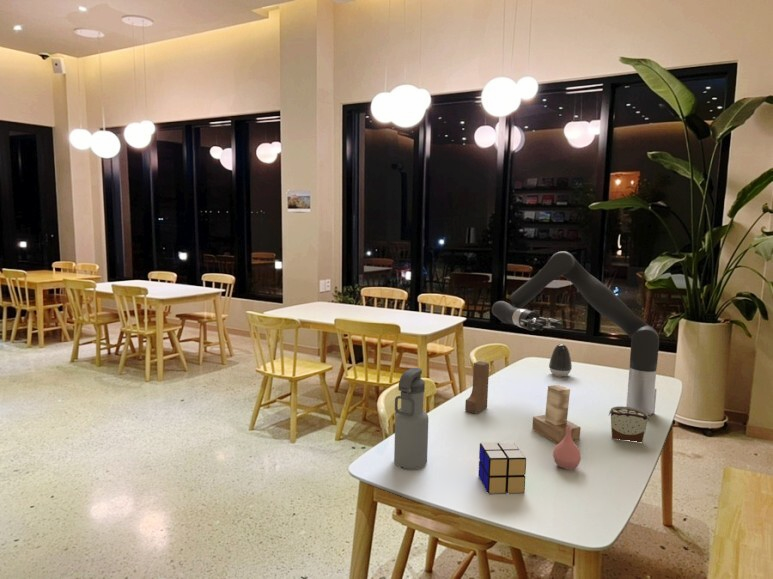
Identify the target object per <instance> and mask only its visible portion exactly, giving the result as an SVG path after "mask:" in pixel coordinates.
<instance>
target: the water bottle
mask: <svg viewBox="0 0 773 579" xmlns="http://www.w3.org/2000/svg"><path fill="white" fill-rule="evenodd" d="M422 374H423V369H422V368H419V367H410V368H409V369H407V370H405V371H404V372H403V373H402V374H401V375H400V377H399V382H398V387H397V388H398V391H400V395H397V396H395V397H394V411H395V413H396V414H395V417H394V450H393V451H394V453H393V454H394V455H393V460H394V461H393V462H394V463H395V464H396V465H397V467H399V466H400V467H399V468H401V467H403V468H402V469H405V468H407V469H406V470H419V469H422V468H424V467H425V466H426V464H427V463H428V449H429V448H428V447H429V446H428V444H429V415H428V413H427V412H426V411H425V410H424V401H425V400H424V399H425V398H424V397H425V396H424V394H425V392H426V391H425V390H426V387H425V386H426V381H425V380H424V379H422V378H421V376H422ZM399 400H400V409H399V408H398V403H399V402H398V401H399ZM418 468H419V469H418Z"/></svg>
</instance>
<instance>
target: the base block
mask: <svg viewBox="0 0 773 579" xmlns="http://www.w3.org/2000/svg"><path fill="white" fill-rule="evenodd" d="M567 427H569V428H571V437H572V440H573V442H574V443H575V442H577V441H580V439H581V438H580V437H581V426H579V425H577V424H575V423H574V422H571V421H569V420H567V424H561V425H554V424H552V423H550V422H548V421H546V420H545V414H542V415H536V416H532V431H534V432H536V433H537V434H539V435H541V436H543V437H545V438H547V439H548V440H550V441H552V442H553V443H555V444H556V445H557V444H559V443H560V442H561V441H562V440H563V438H564V437H565V436H566V428H567Z"/></svg>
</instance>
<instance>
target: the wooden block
mask: <svg viewBox="0 0 773 579" xmlns="http://www.w3.org/2000/svg"><path fill="white" fill-rule="evenodd" d="M472 368H473V370H472V371H473V372H472V389H471V393H470V395H469V397H468V398H466V399H465V409H464V410H466V412H468V411H469V412H468V413H471V412H473V413H472V414H474V413H475V414H477V413H479V412H481V410H482V411H483V409H484V410H486V409H487V408H488V396H489V395H488V394H489V374H490V373H489V372H490V370H489V369H490V363H489V362H485V361H481V360H480V361H477V362H474V363H473V367H472ZM485 408H486V409H485Z"/></svg>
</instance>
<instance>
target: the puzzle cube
mask: <svg viewBox="0 0 773 579" xmlns="http://www.w3.org/2000/svg"><path fill="white" fill-rule="evenodd" d="M478 453H479V454H478V456H479V457H478V459H479V461H478V474H477V475H478V476H477V477H478V478H479V479H480V482H481V481H482V482H481V483H482V486H483V487H484V489H485V491H486V493H487V492H488V493H505V494H507V493H509V494H524V493H525V491H526V490H525V489H526V470H527V469H526V468H527V458H526V456H525V455H524V453H523V452H522V451H521V449H520V448H519V447H518V446H517V445H516V443H515V442H513V441H512V442H498V443H497V442H481V443H479V452H478ZM488 493H487V494H488Z"/></svg>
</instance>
